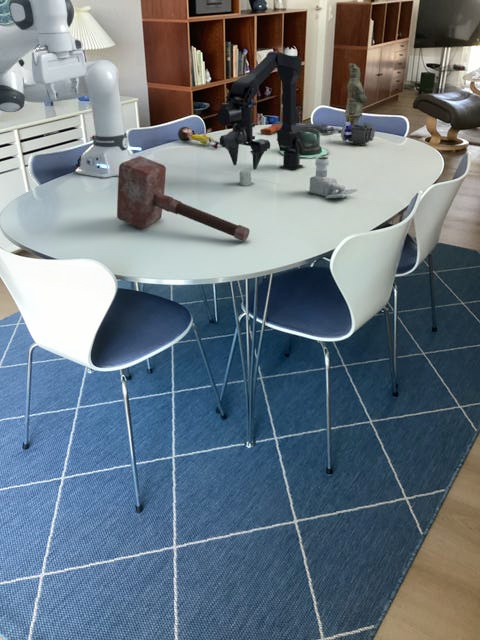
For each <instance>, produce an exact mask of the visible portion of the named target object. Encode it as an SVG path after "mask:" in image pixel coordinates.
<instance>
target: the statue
mask: <svg viewBox="0 0 480 640" xmlns="http://www.w3.org/2000/svg"><path fill="white" fill-rule="evenodd" d="M348 70H349V73H350V75H349V76H350V78H349V81H348V82H347V85H346V90H347V98H346V99H347V100H346V101H347V102H346V106H345V112H344V115H345V123H346V122H350V124H352V127H354V125H355V124H357V125H359V124H358V123H359V121H360V118H361V117H362V116H363V108H364V104H365V103H367V102H368V96H367V95H366V94H365V91H364V86H363V84H362V82H361V68H360V67H359V66H358V65H357V64H356V63H351V62H350V63H348Z"/></svg>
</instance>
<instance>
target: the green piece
mask: <svg viewBox="0 0 480 640" xmlns="http://www.w3.org/2000/svg"><path fill="white" fill-rule="evenodd" d="M298 129H299V131H300V137H301V140H302V142H303V143H304V144H305V151H304V152H303V153H300V158H307V159H309V158H310V159H311V158H313V159H314V158H316V157H319V156H326V155H327V154H328V150H326V149H325V148H322V146H321V144H320V142H321V132H319V131H318V130H316V129H311V128H298ZM284 152H285V151H280V150H279V153H280V154H282V155H284Z"/></svg>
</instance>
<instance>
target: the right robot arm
mask: <svg viewBox="0 0 480 640" xmlns="http://www.w3.org/2000/svg"><path fill="white" fill-rule="evenodd" d="M302 64H303V63H302V59H301V58H300V56H298V55H291V54H290V55H289V54H287V53H286V54H285V53H283V52H281V51H273V50H271V51H269V52H267V54H266V56H265V57H264V58H263V59H262V60H261V61H260V62H259V63H258V64H257V65H256V66H255V67H254V68H253V69H252V70H251V71H250V72H249V73H248V74H246V75H244V76H240V77H239V78H238V79H237V80H235V81H234V82H233V83H232V85H231V89H230V91H229V93H228V95H227V98H226V101H225V102H223V103H221V104H220V108H219V109H218V110H217V114H216V119H217V122H218V124H219V125H220V126H222V127H226V126H230V125H231V126H232V130H231V131H229V132H228V133H226V134H223V135H220V136H219V142H220V144H222V146H221V147H222V148H225V150H227V152H228V154H229V157H230V159H231V162H232V164H233V166H237V164H238V157H239V147H240V145H241V146H247V147H250V153H251V155H252V169H253V170H257V168H258V165H259V163H260V162H261V159H262V157H263V155H264V153H265V152H267V151H268V150H270V149H271V142H270V141H269V140H268V139H264V138H258V139H256V136H255V135H253V134H254V133H253V131H254V130H253V128H255V127H256V123H253V107H254V106H257V102H256V101H255V100H254V98H255V97H256V96H257V94H258V92H259V87H260V85H261V84H262V83H263V82H264V81H265V79H267V78H268V77H269V76H270V75H271V74H272V73H273V71H275V69H276V70H277V71H276V72H277V76H278V78H279V80H280V82H281V83H282V84H281V92H282V93H281V103H282V105H281V106H282V108H281V111H282V113H281V115H282V116H281V117H282V121H281V122H282V126H281V128H280V130H277V132H276V141H277V145H278V149H279V152H280V151H285V152H284V154H283V159H282V160H283V161H282V162H283V163H282V165H280V166H279V167H280V168H281V169H287V170H291V171H295V170H297V169H300V168H304V165H303V164H301V157H300V153H303V152H304V151H305V144H304V143H303V142H302V140H301V137H300V131H299V129H298V127H297V125H296V123H297V82H298V79H299V78H300V77H301V74H302V73H301V72H302Z"/></svg>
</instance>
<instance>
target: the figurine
mask: <svg viewBox="0 0 480 640" xmlns="http://www.w3.org/2000/svg"><path fill="white" fill-rule="evenodd" d="M210 132H212V128H209V129H207V130H206V132H205V133H204V134H202V135H201V134H198V133H195V130H193V129H191V128H189V127H188V126H182V127H180V128H179V129H178V132H177V137H178V139H179V141H182V142H191V141H192V140H194V141H198V142H200V143H201V144H203V145H204V146H210V147H212V148H214V149H215V150H216V149H218V145H219V146H221V147H223V146H222V144H220V141H218V140H216V139H215V138H213V137H212V136H207V135H208V134H209V133H210Z"/></svg>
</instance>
